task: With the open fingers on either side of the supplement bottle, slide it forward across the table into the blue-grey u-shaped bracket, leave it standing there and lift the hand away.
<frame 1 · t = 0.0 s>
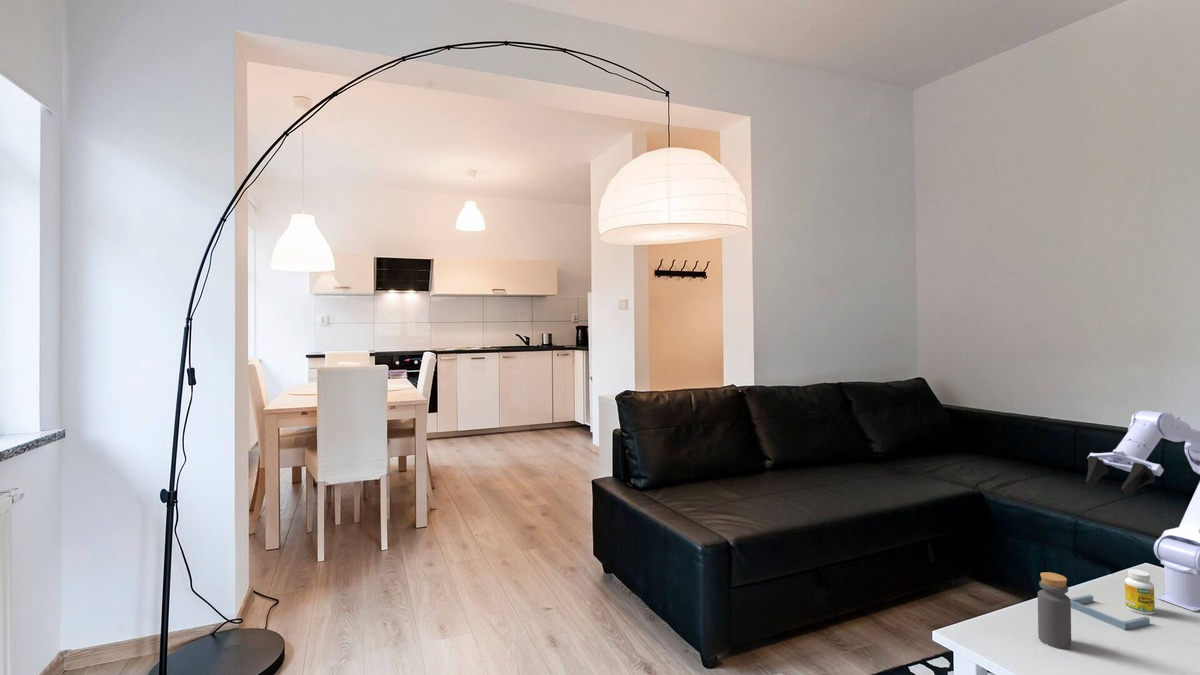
hand: (1106, 488, 136), 32 cm above the table, tool tilted 50°, fingers open, 7 cm apart
supplement bottle: (1139, 610, 140), on the table
bottle: (1054, 642, 127), on the table
blue-grey u-shaped bracket: (1107, 614, 138), on the table
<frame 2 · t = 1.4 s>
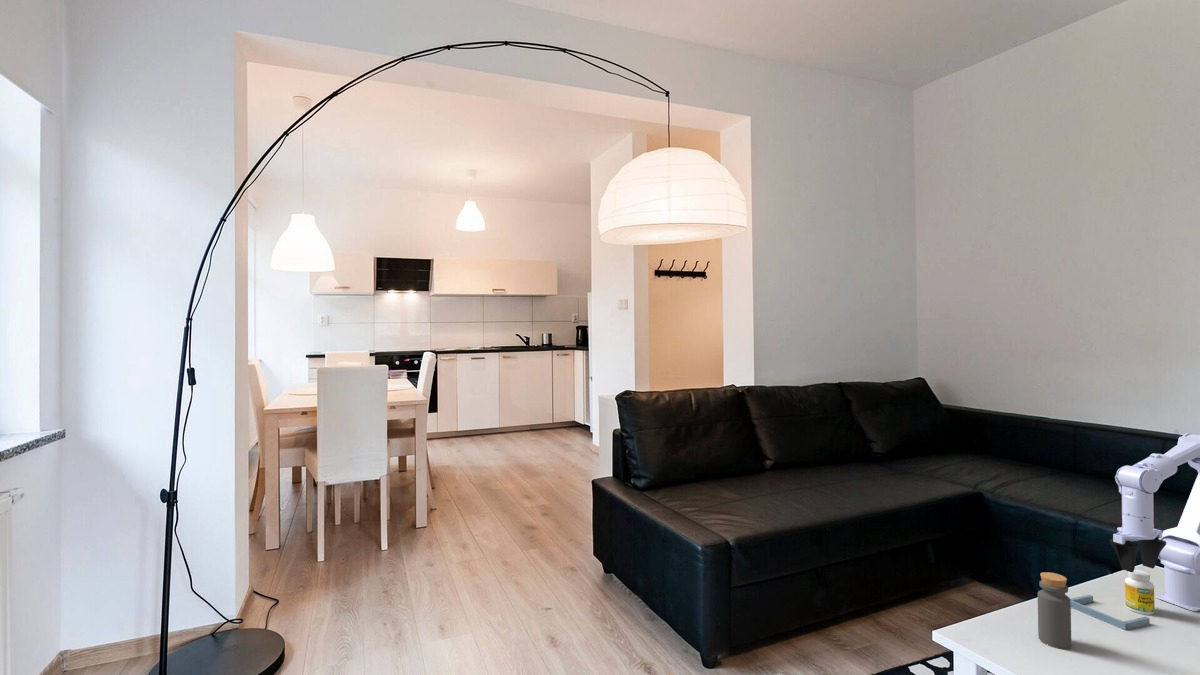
hand: (1138, 568, 140), 10 cm above the table, tool pointing down, fingers open, 7 cm apart
nothing on the table moved.
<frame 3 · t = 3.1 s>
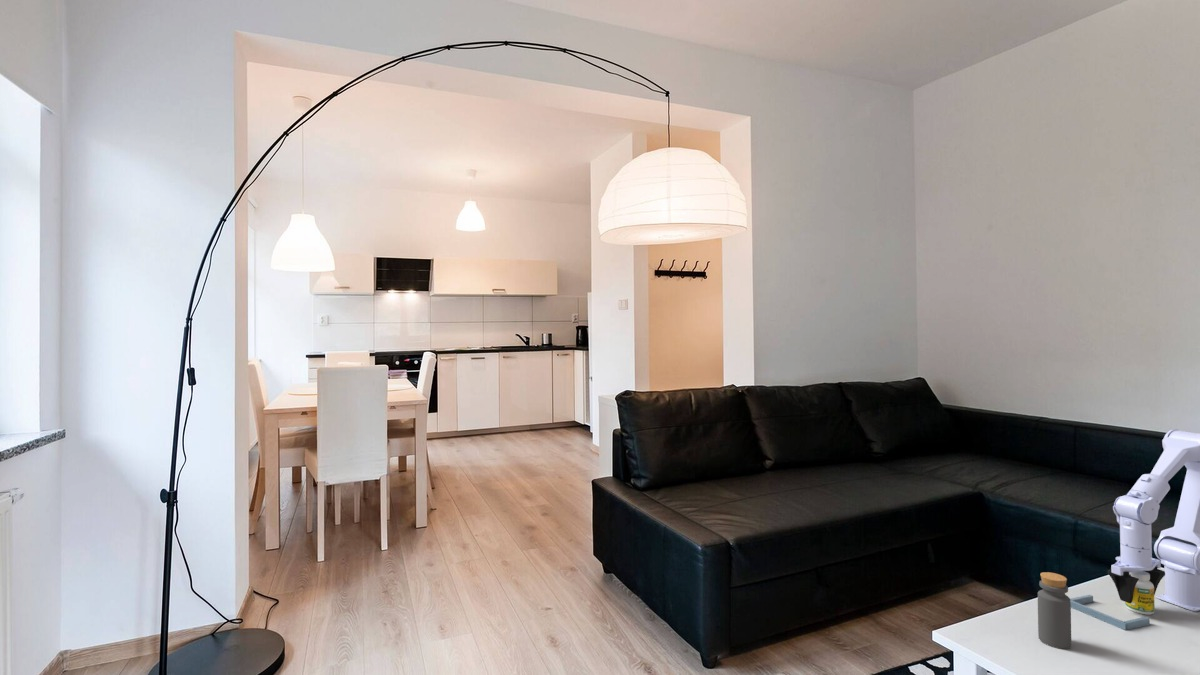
hand: (1136, 599, 140), 3 cm above the table, tool pointing down, fingers open, 7 cm apart
supplement bottle: (1139, 610, 140), on the table, touching gripper
everything else where it was.
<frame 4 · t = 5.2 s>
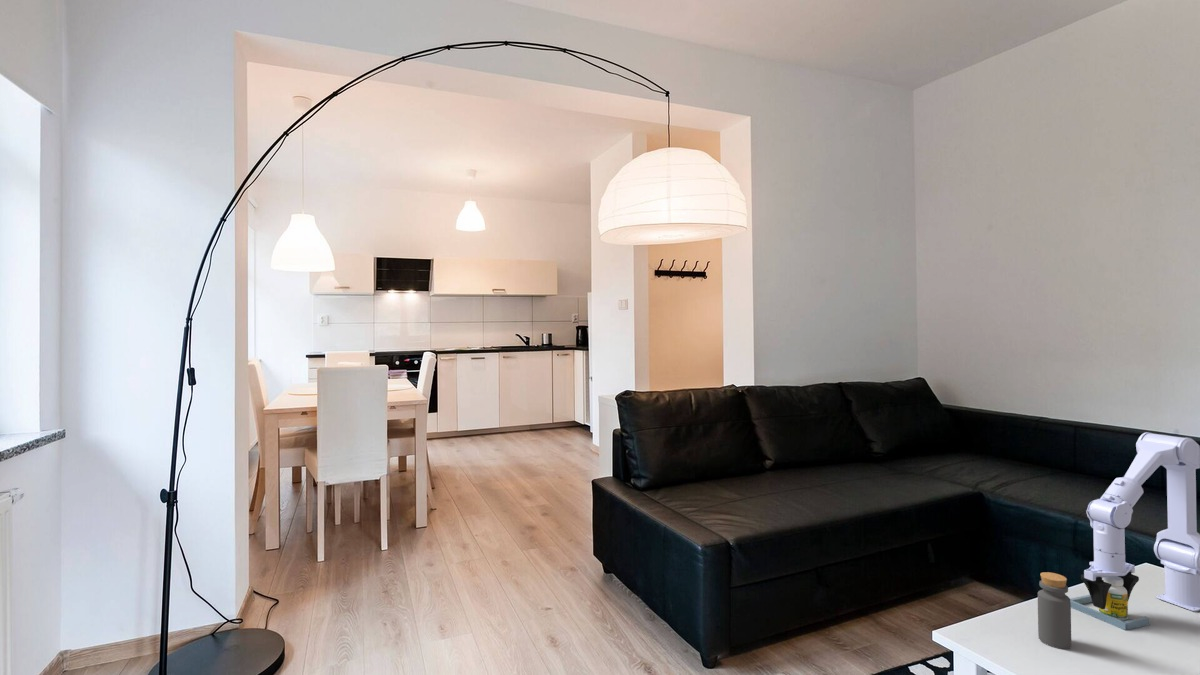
hand: (1110, 604, 137), 3 cm above the table, tool pointing down, fingers open, 7 cm apart
supplement bottle: (1113, 616, 138), on the table, touching gripper
everything else where it was.
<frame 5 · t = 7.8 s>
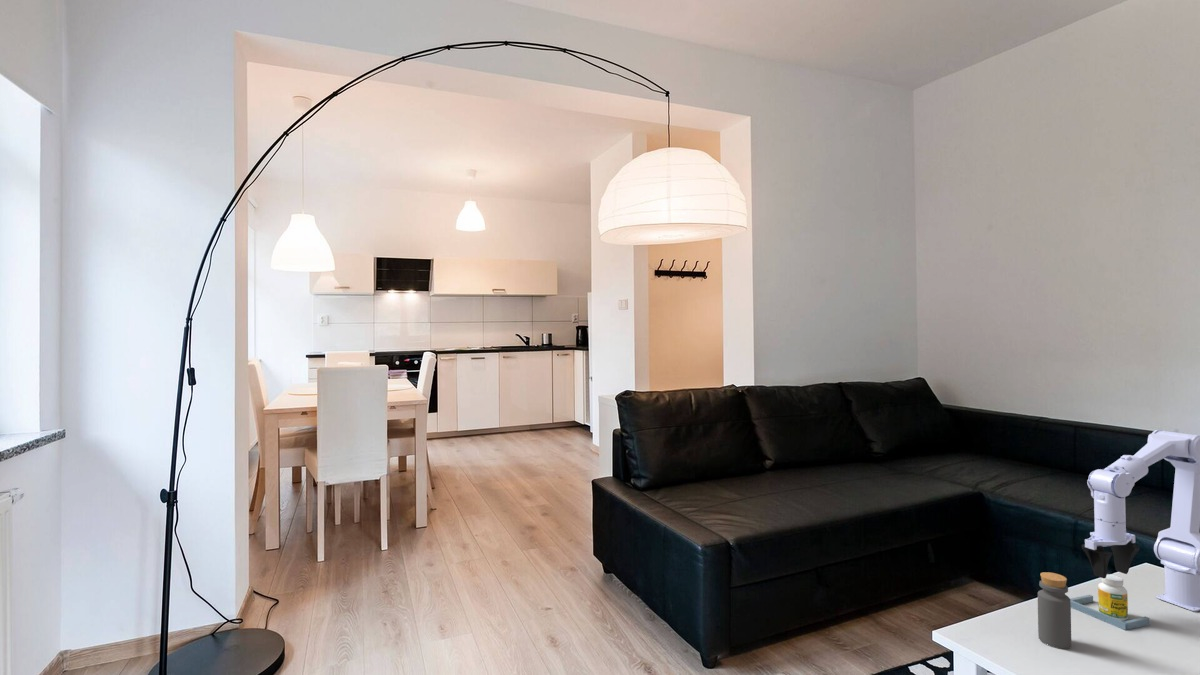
hand: (1111, 574, 137), 10 cm above the table, tool pointing down, fingers open, 7 cm apart
supplement bottle: (1113, 616, 138), on the table
everything else where it was.
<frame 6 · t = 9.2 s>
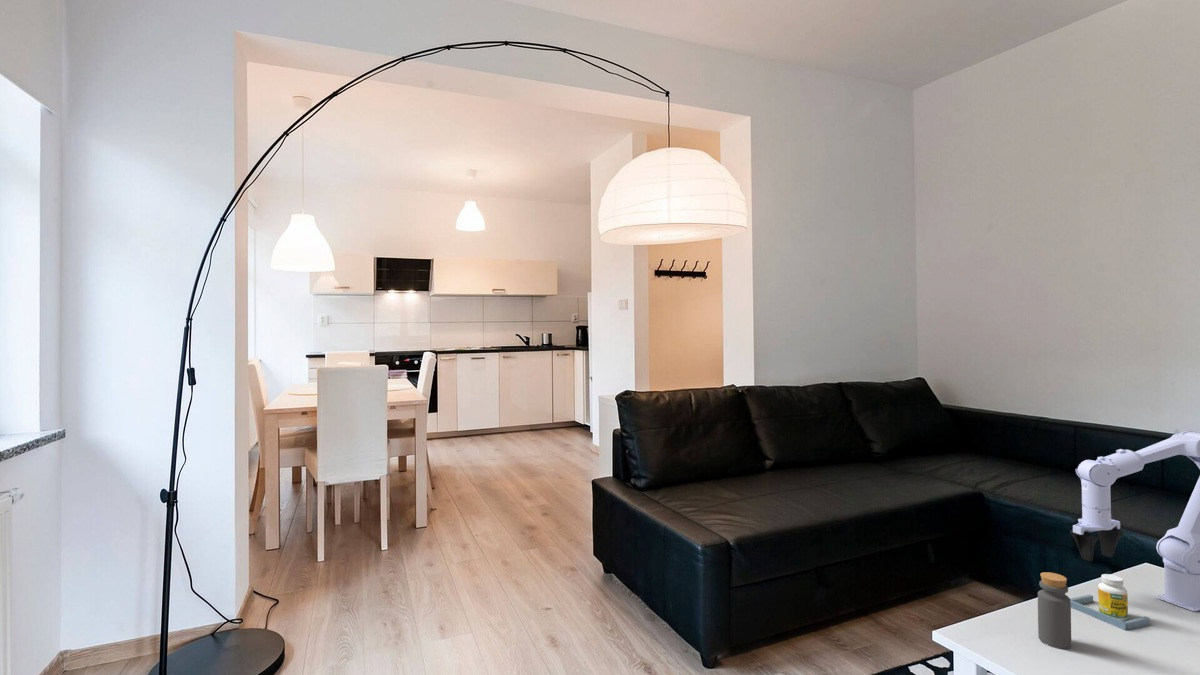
hand: (1097, 557, 147), 10 cm above the table, tool pointing down, fingers open, 7 cm apart
nothing on the table moved.
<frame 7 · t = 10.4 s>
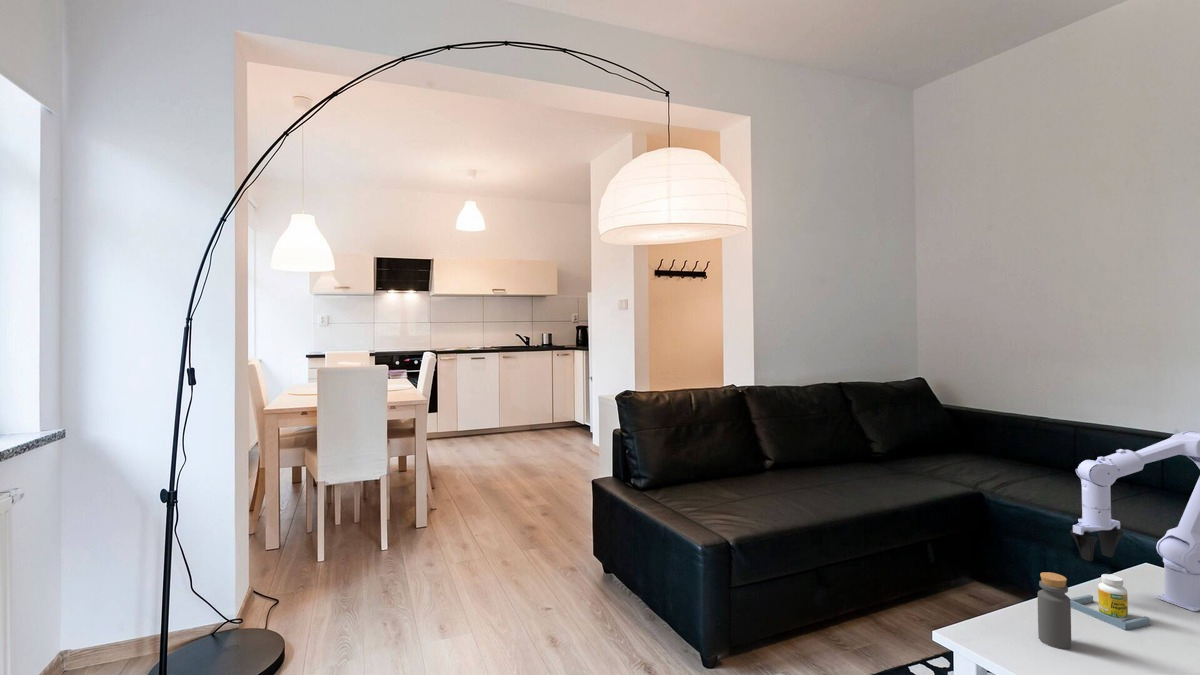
hand: (1097, 557, 147), 10 cm above the table, tool pointing down, fingers open, 7 cm apart
nothing on the table moved.
at the end: supplement bottle inside the target area on the blue-grey u-shaped bracket (0.6 cm from its centre), point 0.0 cm above the blue-grey u-shaped bracket's base; supplement bottle tilted 0°; the gripper is holding nothing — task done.
